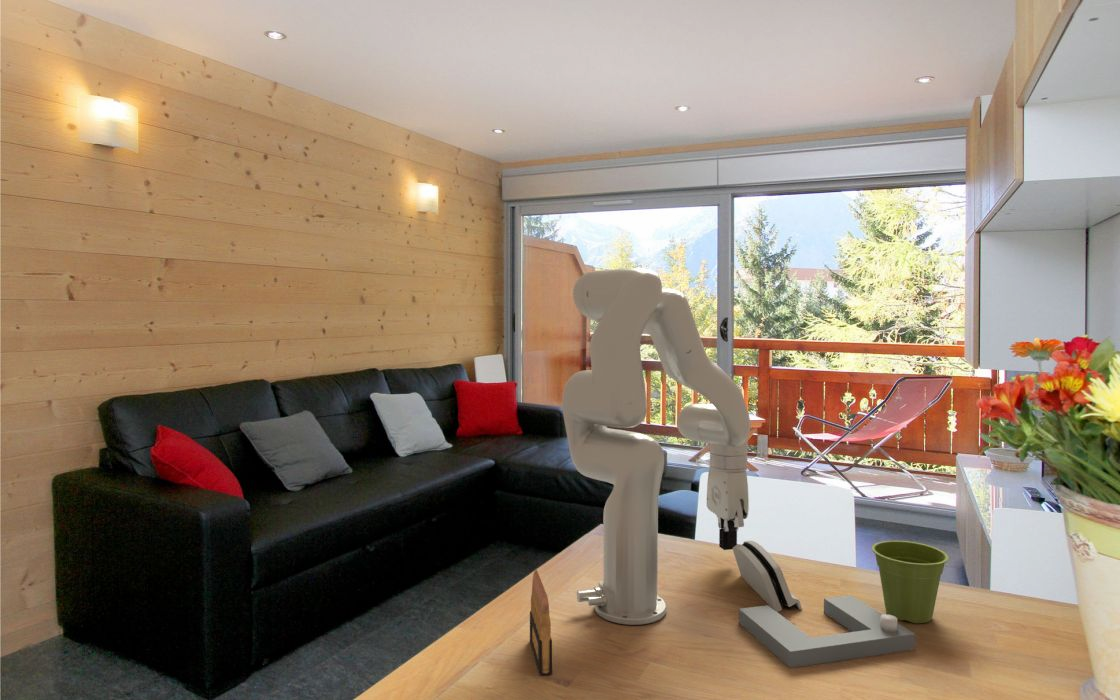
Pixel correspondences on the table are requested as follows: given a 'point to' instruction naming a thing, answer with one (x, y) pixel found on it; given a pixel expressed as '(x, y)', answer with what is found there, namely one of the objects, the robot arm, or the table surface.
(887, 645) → the gray u-shaped block
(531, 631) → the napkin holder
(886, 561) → the plant pot
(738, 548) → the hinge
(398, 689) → the table surface
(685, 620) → the table surface
